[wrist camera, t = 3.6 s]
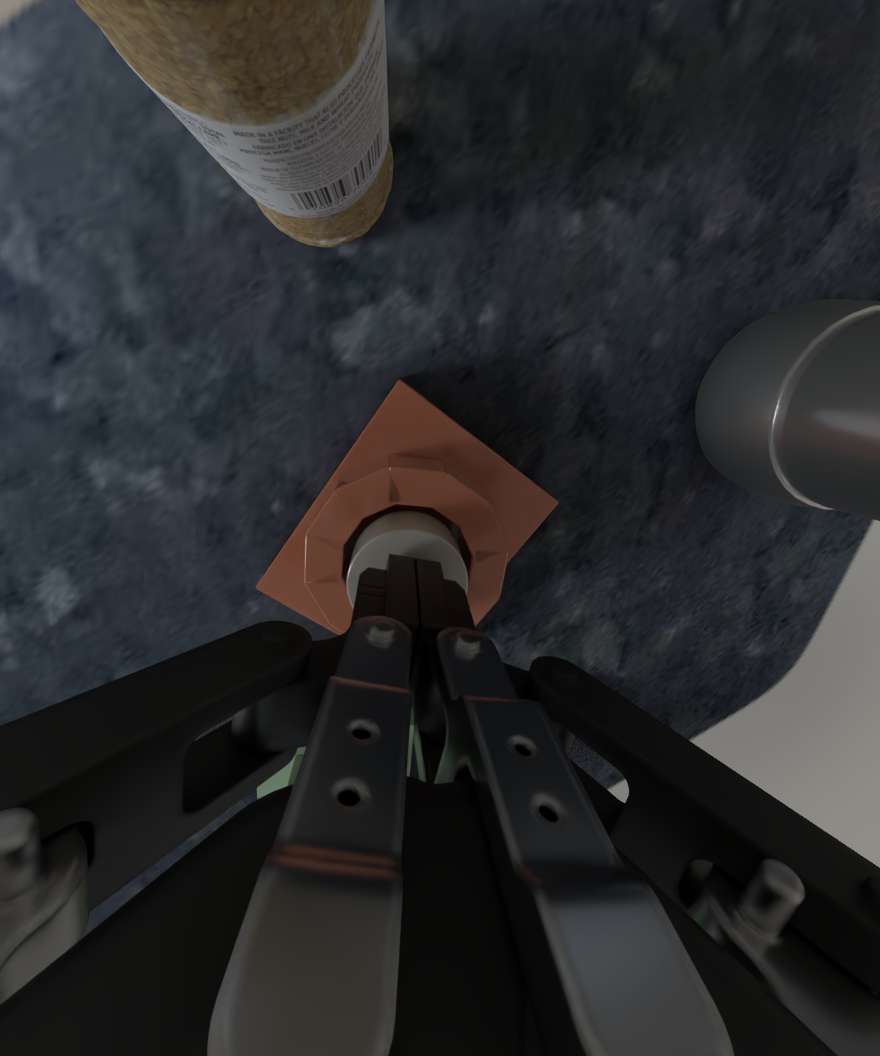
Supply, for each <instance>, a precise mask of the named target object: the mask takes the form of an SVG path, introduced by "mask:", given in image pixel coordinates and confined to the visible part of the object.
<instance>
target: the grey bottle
mask: <svg viewBox="0 0 880 1056" xmlns="http://www.w3.org/2000/svg"><path fill="white" fill-rule="evenodd" d="M695 425H696V431H697V437H698V441H699V444H700V446H701V449H702V451H703V454H704V455H705V456H706V458H707V459H708V461H709V462H710V464H711V465H712V466H713V467H714V468H715V469H716V470H718V471H719V472H720V473H721V474H722V475H724V476H725V477H727V478H728V479H730V480H731V481H732V482H734V483H735V484H737V485H738V486H740V487H741V488H743V489H745V490H747V491H749V492H750V493H752V494H754V495H756V496H759V497H763V498H767V499H771V500H776V501H780V502H785V503H789V504H794V505H799V506H803V507H811V508H819V509H835V510H839V511H843V512H847V513H851V514H855V515H859V516H863V517H866V518H870V519H874V520H878V521H880V301H872V300H846V299H825V300H819V301H812V302H807V303H804V304H801V305H798V306H795V307H792V308H789V309H786V310H783V311H780V312H777V313H774V314H772V315H769V316H766V317H763V318H761V319H758V320H757V321H755V322H753V323H752V324H750V325H748V326H747V327H745V328H743V329H742V330H741V331H740V332H739V333H737V334H736V335H735V336H734V337H733V338H732V339H730V340H729V341H728V342H727V343H726V345H725V346H724V347H723V348H722V349H721V351H720V352H719V353H718V354H717V355H716V357H715V358H714V360H713V362H712V363H711V365H710V367H709V368H708V370H707V372H706V373H705V375H704V377H703V380H702V382H701V385H700V387H699V390H698V394H697V399H696V404H695Z"/></svg>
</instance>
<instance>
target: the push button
mask: <svg viewBox="0 0 880 1056" xmlns="http://www.w3.org/2000/svg"><path fill="white" fill-rule="evenodd" d="M389 554H394V555H400V556H407V557H413V558H414V561H415V558H418V559H425V560H431V561H437V562H440V563H441V567H442V572H443V577H444V579H447V580H453V581H456V582H457V583H458V584H459V585H460V586H461V587H462V588H463V589H464V590H465V592H466V595H467V590H468V574H467V569H466V566H465V562H464V559H463V556H462V553H461V550H460V547H459V544H458V542H457V540H456V538H455V536H454V534H453V533H452V532H451V530H450V529H449V528H448V527H447V526H446V525H445V524H444V523H442V522H441V521H440V520H438V519H436V518H435V517H433V516H430V515H428V514H425V513H421V512H416V511H398V512H393V513H389V514H387V515H384V516H382V517H380V518H378V519H376V520H375V521H373V522H372V523H370V524H369V525H368V526H367V527H366V528H365V529H364V530H363V532H362V533H361V534H360V536H359V537H358V539H357V541H356V543H355V545H354V549H353V552H352V556H351V561H350V565H349V569H348V573H347V580H346V587H347V594H348V598H349V601H350V603H351V605H352V608H353V609H354V603H355V598H356V592H357V586H358V581H359V575H360V574H361V573H362V572H363V571H364V570H366V569H367V568H368V567H370V568H377V569H383V570H386V566H387V561H388V556H389Z"/></svg>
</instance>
